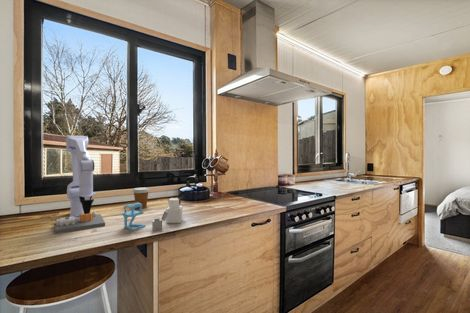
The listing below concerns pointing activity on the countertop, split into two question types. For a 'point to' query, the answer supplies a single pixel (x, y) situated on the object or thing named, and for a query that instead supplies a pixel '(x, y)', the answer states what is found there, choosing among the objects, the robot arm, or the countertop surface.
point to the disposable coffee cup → (141, 196)
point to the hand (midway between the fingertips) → (86, 211)
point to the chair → (133, 215)
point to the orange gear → (86, 217)
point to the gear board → (78, 223)
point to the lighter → (158, 222)
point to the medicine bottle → (174, 211)
